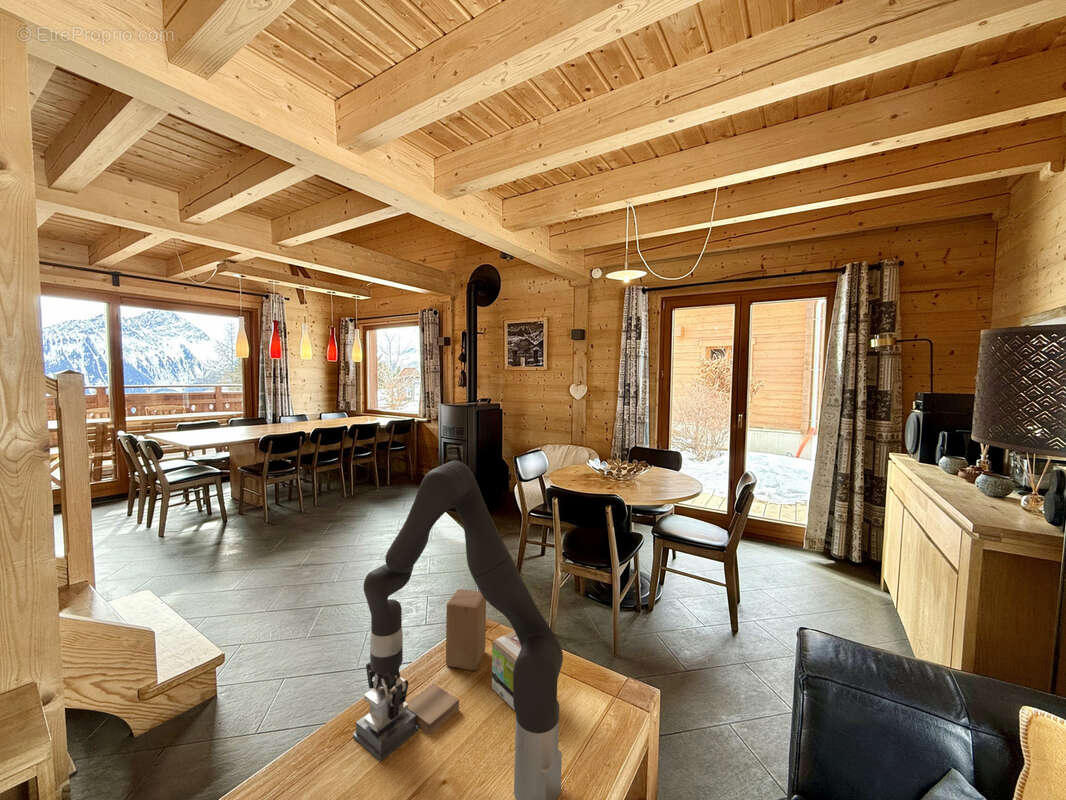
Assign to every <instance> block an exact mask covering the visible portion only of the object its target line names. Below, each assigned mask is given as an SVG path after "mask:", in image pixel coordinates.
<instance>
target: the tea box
mask: <svg viewBox="0 0 1066 800" xmlns="http://www.w3.org/2000/svg"><path fill="white" fill-rule="evenodd" d="M491 644H492V646H491V648H492V649H491V652H492V653H491V654H492V655H491V689H492V690H494V691H495V692H496V694H497V695H498V696H500V698H502V700H503V701H504V702H505V703H507V704H508V706H509V707H510V708H511V709H513V711H515V709H514V704H513V671H514V665H515V661H516V659H517V657H518V655H519V652H520V650H521V645H520V642H519V639H518V637H517V635H516V633H515V631H514V629H513V630H511V631H510V632H508V633H505V634H504V635H501V636H499V637H498V638H496V639H494V640H492V643H491Z"/></svg>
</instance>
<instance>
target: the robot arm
mask: <svg viewBox="0 0 1066 800" xmlns="http://www.w3.org/2000/svg"><path fill="white" fill-rule="evenodd" d="M424 475H425V476H424V477H423V479H422V481H421V483H420V485H419V487H418V490H417V493H416V495H415V499H414V500H413V504H412V506H411V508H410V510H409V512H408V515H407V518H406V520H405V522H404V523H403V525H402V527H401V528H400V531H399V532H398V534H397V536H395V538H394V540H393V542H392V543H391V545H390V547H388V550H387V552H386V555H385V559H384V560H385V564H383V565H381V566H379V567H377V568H375V569H373V570H371V571H370V572H368V574H367V575H366V577H365V579H364V581H363V593H364V596H365V599H366V602H367V605H368V608H369V612H370V616H371V617H370V620H371V621H370V629H371V631H370V639H369V644H370V645H369V651H370V654H369V655H370V656H369V658H370V659H369V662H368V663H366V664H365V669H366V676H367V684H368V688H369V689H370V690H372V689H373V688H378V687H379V686H382V687H384V690H385V695H386V696H387V697H389V719H390V720H393V719H394V718H396V717H397V716H398V715H399V705H401V704H402V703H404V702H406V699H407V694H408V690H409V689H408V688H409V681H408V680H407V679H405V681H404V682H403V681H402V680H401V679H400V677H401V672H400V668H401V666H402V664H403V661H404V659H403V655H404V654H403V653H404V651H403V650H404V649H403V647H404V646H403V645H404V644H403V643H404V638H403V637H404V633H403V627H402V625H403V624H402V623H403V622H402V619H403V618H402V617H403V614H402V613H403V612H402V610H403V609H402V605H401V603H400V601H397V600H396V599H389V597H390V596H392V595H393V594H396V593H397V592H398V591H400V590H402V589H403V588H405V586H406V585H407V584H408V582H409V581H410V580H411V577H412V573H413V570H414V566H415V564H416V563H417V562H418V560H419V558H420V557H421V555H422V554H423V552H424V550H425V549H426V547H427V545H428V542H429V537H430V532H431V531H432V528H433V527H434V525H435V524H436V522H437V521H438V520H439V519H441V517H442V516H444V514H445V513H447V511H448V510H450V509H452V508H454V509H455V510H456V512H457V515H458V517H459V518H460V521H461V524H462V526H463V531H464V540H465V541H464V542H465V555H466V561H467V566H468V569H469V572H470V574H471V577H472V579H473V581H474V583H475V585H476V587H477V588H478V591H479V592H481V594H482V596H483V597H484V598H485V600H486V603H487V602H488V604H490V605H491V606H492V607H493V608H494V609H495V610H497V611H498V612H499V613H501V614H502V615H503V616H504V617H505V618H506V619H507V620H508V622H509V623H510V625H511V627H512V629H513V630H514V631H515V633H516V635H517V637H518V639H519V642H520V645H521V650H520V652H519V655H518V657H517V659H516V661H515V665H514V671H513V704H514V709H515V710H514V709H513V710H514V711H515V728H514V730H515V733H514V734H515V737H514V769H513V771H514V773H513V774H514V776H513V777H514V778H513V779H514V781H513V784H514V785H513V795H514V798H515V800H558V798H559V796H561V793H562V765H563V764H562V761H563V759H562V758H563V752H562V750H560V749H559V733H560V732H559V731H560V730H559V729H560V703H559V701H558V681H559V680H558V679H559V676H560V672H561V669H562V665H563V661H564V654H563V648H562V646H561V643H560V641H559V640H558V638H557V636H556V635H555V633H554V632H553V630H552V629H551V627H550V626H549V624H548V623H547V621H546V620H545V618H544V616H543V614H542V613H541V612H540V610H539V608H538V607H537V605H536V603H535V601H534V599H533V597H532V595H531V593H530V591H529V589H528V587H527V586H526V583H525V581H524V580H523V577H522V575H521V573H520V571H519V569H518V567H517V565H516V563H515V561H514V559H513V556H512V554H511V553H510V551H509V549H508V548H507V545H506V544H505V542H504V540H503V539H502V536H501V535H500V532H499V530H498V529H497V526H496V523H495V522H494V520H493V518H492V516H491V514H490V512H489V510H488V507H487V504H486V503H485V500H484V497H483V495H482V492H481V489H480V487H479V485H478V482H477V479H476V478H475V475H474V473H473V471H472V470H471V469H470V467H469V466H468V465H467V464H466V463H464V462H463V461H460V460H451V461H448V462H446V463H444V464H442V465H441V464H440V465H439V466H437V467H435V468H432V469H431V470H430V471H428V473H426V474H424ZM373 678H374V680H373ZM394 686H395V687H394ZM393 687H394V688H393ZM391 688H393V689H392V690H391V691H389V690H390V689H391ZM395 693H396V695H395V698H394V699H393V697H392V696H393V695H394V694H395Z"/></svg>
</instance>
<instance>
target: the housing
mask: <svg viewBox="0 0 1066 800" xmlns="http://www.w3.org/2000/svg"><path fill="white" fill-rule="evenodd" d="M400 679H401V680H402V681H403V682H404V681H405V680H406V679H404V678H403V677H402V676H400ZM394 687H395V686H394ZM394 687H393V688H394ZM393 688H391V689H390V690H389V691H391V690H392V689H393ZM395 695H396V693H395V694H394V695H393V696H392V697H393V699H394V698H395ZM363 696H364V697H363V698H364V700H365V701H366V702H367V703H369V712H370V714H368V713H367V714H368V715H367V716H366V717H364V716H363V717H364V722H365V723H366V724H367V725H368V726H370V727H371V728H372V729H373V730H374V731H376V732H378V731H380V730H381V729H382V728H384V727H385V726H386V725H387V724H389V723H390V722H391V721H393V720H394V719H395V718H394V719H393V720H390V719H389V697H387V696H386V695H385V690H384V687H382V686H379V687H378V688H373V689H370V690H368V691H367V692H366V693H364V695H363ZM407 709H408V702H406V701H405V702H404V703H402V704H401V705H399V715H401V714H402V713H403V712H404V711H406V710H407ZM399 715H398V716H399ZM398 716H397V717H398ZM397 717H396V718H397Z"/></svg>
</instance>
